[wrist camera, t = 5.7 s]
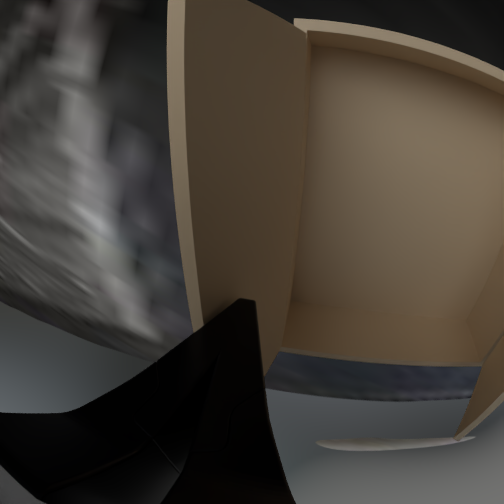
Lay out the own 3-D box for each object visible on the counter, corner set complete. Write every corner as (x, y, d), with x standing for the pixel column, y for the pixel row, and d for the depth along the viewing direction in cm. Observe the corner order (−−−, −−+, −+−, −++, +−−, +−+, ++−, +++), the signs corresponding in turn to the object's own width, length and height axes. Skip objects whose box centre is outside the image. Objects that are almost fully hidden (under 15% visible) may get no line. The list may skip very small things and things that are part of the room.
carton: (536, 106, 10) (582, 122, 6) (466, 320, 19) (482, 366, 15) (302, 38, 13) (294, 18, 8) (284, 300, 22) (272, 350, 18)
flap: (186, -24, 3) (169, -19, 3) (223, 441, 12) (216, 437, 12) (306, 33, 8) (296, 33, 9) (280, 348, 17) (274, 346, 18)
